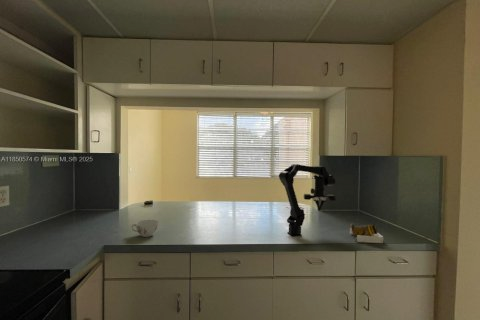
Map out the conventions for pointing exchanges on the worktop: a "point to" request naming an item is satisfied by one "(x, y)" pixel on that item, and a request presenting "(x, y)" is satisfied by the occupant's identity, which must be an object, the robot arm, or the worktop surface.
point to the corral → (369, 238)
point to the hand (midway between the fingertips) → (318, 210)
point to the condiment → (363, 230)
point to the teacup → (145, 227)
